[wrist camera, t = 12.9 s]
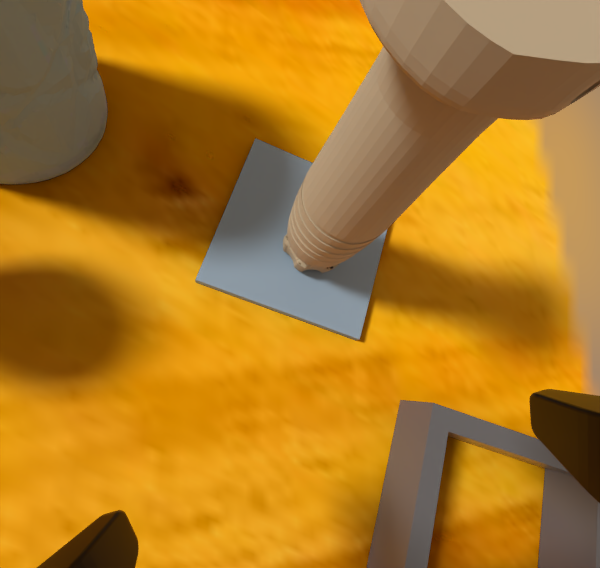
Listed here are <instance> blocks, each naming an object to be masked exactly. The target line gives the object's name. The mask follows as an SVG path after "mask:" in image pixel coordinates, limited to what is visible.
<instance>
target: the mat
mask: <svg viewBox="0 0 600 568" xmlns="http://www.w3.org/2000/svg"><path fill="white" fill-rule="evenodd" d="M312 164H313V163H311V162H309V161H307V160H304V159H302V158H300V157H298V156H295V155H293V154H291V153H288V152H286V151H284V150H281V149H279V148H277V147H274V146H272V145H270V144H268V143H265V142H263V141H261V140H258V139H256V138H255V140H254V143H253V145H252V147H251V150H250V152H249V154H248V157H247V159H246V161H245V164H244V166H243V169H242V171H241V173H240V176H239V178H238V180H237V183H236V185H235V187H234V190H233V192H232V195H231V197H230V199H229V202H228V204H227V206H226V209H225V211H224V214H223V216H222V218H221V221H220V223H219V225H218V228H217V230H216V232H215V235H214V237H213V240H212V242H211V244H210V247H209V249H208V251H207V254H206V256H205V258H204V261H203V263H202V266H201V268H200V270H199V273H198V275H197V277H196V283H199V284H202V285H204V286H207V287H210V288H213V289H215V290H218V291H221V292H224V293H226V294H229V295H232V296H235V297H237V298H240V299H243V300H246V301H249V302H251V303H254V304H257V305H260V306H262V307H265V308H268V309H271V310H273V311H276V312H279V313H282V314H284V315H287V316H290V317H293V318H295V319H298V320H301V321H304V322H306V323H309V324H312V325H315V326H318V327H320V328H323V329H326V330H329V331H331V332H334V333H337V334H340V335H342V336H345V337H348V338H351V339H353V340H359V339H360V336H361V332H362V328H363V324H364V320H365V316H366V312H367V308H368V304H369V300H370V296H371V292H372V288H373V284H374V280H375V276H376V272H377V268H378V264H379V260H380V256H381V252H382V248H383V244H384V240H385V236H386V232H387V230H386V231H385V232H384V233H382V234H381V235H380V236H379V237H378V238H376V239H375V240H374V241H373V242H371V243H370V244H369V245H368V246H366V247H365V248H364V249H362V250H361V251H359V252H358V253H356V254H355V255H354V256H352V257H351V258H349V259H347V260H346V261H344V262H342V263H340V264H339V265H338V266H337V267H335V268H334V269H332V270H330V271H328V272H324V273H322V272H320V271H318V270H305V271H302V272H300V271H298V270H297V269H295V268H294V263H293V260H292V258H291V257H290V256H289V254H287V253H286V252H284V251H283V239H284V236H285V235H287V228H288V221H289V216H290V213H291V210H292V207H293V204H294V201H295V198H296V195H297V193H298V191H299V189H300V187H301V185H302V182H303V180H304V178H305V176H306V174H307V172H308V171H309V169H310V167H311V166H312Z"/></svg>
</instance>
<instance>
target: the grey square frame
mask: <svg viewBox="0 0 600 568" xmlns="http://www.w3.org/2000/svg"><path fill="white" fill-rule="evenodd" d="M448 436H449V437H452V438H455V439H458V440H461V441H464V442H467V443H470V444H473V445H476V446H479V447H482V448H485V449H488V450H491V451H494V452H497V453H500V454H503V455H506V456H509V457H512V458H515V459H518V460H521V461H524V462H527V463H530V464H533V465H536V466H539V467H542V468H545V478H544V492H543V505H542V519H541V533H540V546H539V560H538V568H600V503H599V502H598V501H597V500H596V499H594V498H593V497H592V496H591V495H590V494H589V493H588V492H587V491H586V490H585V489H584V488H583V487H582V486H581V485H580V484H579V483H578V481H577V480H576V479H575V478H574V477H573V476H572V475H571V474H570V473H569V472H568V471H567V470H566V468H565V467H564V466H563V465H562V464H561V463H560V462H559V461H558V460H557V459H556V458H555V456H554V455H553V454H552V453H551V452H550V451H549V450H548V449H547V448H546V447H545V446H544V445H543V443H542V442H541V441H540V440H539V439H536V438H533V437H530V436H527V435H524V434H522V433H519V432H516V431H513V430H510V429H507V428H504V427H501V426H498V425H496V424H493V423H490V422H487V421H484V420H481V419H478V418H475V417H472V416H470V415H467V414H464V413H461V412H458V411H455V410H452V409H449V408H446V407H444V406H441V405H438V404H435V403H428V402H417V401H405V400H400V405H399V410H398V415H397V420H396V425H395V430H394V435H393V440H392V445H391V450H390V455H389V460H388V465H387V470H386V474H385V479H384V484H383V489H382V494H381V499H380V504H379V509H378V514H377V519H376V524H375V529H374V534H373V539H372V544H371V549H370V554H369V559H368V563H367V568H427V565H428V559H429V553H430V546H431V540H432V534H433V527H434V521H435V514H436V508H437V502H438V495H439V489H440V482H441V476H442V470H443V463H444V457H445V451H446V444H447V438H448Z"/></svg>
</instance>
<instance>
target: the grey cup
mask: <svg viewBox="0 0 600 568" xmlns="http://www.w3.org/2000/svg"><path fill="white" fill-rule="evenodd" d="M82 2H83V1H82V0H0V184H27V183H36V182H40V181H44V180H49V179H51V178H54V177H57V176H59V175H62V174H64V173H66V172H69V171H70V170H72V169H73V168H75V167H76V166H77V165H79V164H80V163H82V162H83V161H84V160H85V159H86V158H88V157H89V156H90V154H91V153H92V152H93V151H94V150H95V149H96V147H97V145H98V144H99V142H100V140H101V139H102V137H103V134H104V132H105V127H106V122H107V113H108V110H107V100H106V95H105V90H104V87H103V83H102V79H101V77H100V75H99V72H98V71H97V64H98V63H97V57H96V53H95V50H94V44H93V39H92V34H91V32H90V30H89V20H88V16H87V15H86V13H85V11H84V9H83V4H82Z"/></svg>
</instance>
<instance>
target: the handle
mask: <svg viewBox="0 0 600 568" xmlns="http://www.w3.org/2000/svg"><path fill="white" fill-rule="evenodd" d="M360 2H361V4H362V6H363V8H364V11H365V13H366V15H367V17H368V20H369V22H370V24H371V26H372V28H373V30H374V32H375V33H376V35H377V36H378V38H379V40H380V41H381V43H382V44H383V48H382V50H381V52H380V54H379V56H378V57H377V59H376V61H375V62H374V64H373V66H372V67H371V69H370V71H369V72H368V74H367V76H366V77H365V79H364V81H363V82H362V84H361V86H360V87H359V89H358V91H357V92H356V94H355V96H354V97H353V99H352V101H351V102H350V104H349V106H348V107H347V109H346V111H345V112H344V114H343V115H342V117H341V119H340V120H339V122H338V124H337V125H336V127H335V128H334V130H333V132H332V133H331V135H330V136H329V138H328V140H327V141H326V143H325V145H324V146H323V148H322V149H321V151H320V153H319V154H318V156H317V157H316V159H315V161H314V162H313V164H312V166H311V167H310V169H309V171H308V172H307V174H306V176H305V178H304V180H303V182H302V185H301V187H300V189H299V191H298V193H297V195H296V198H295V201H294V204H293V207H292V210H291V213H290V216H289V221H288V228H287V235H285V236H284V239H283V251H284V252H286V253H287V254H289V256H290V257H291V258H292V260H293V263H294V268H295V269H297V270H298V271H300V272H302V271H305V270H318V271H320V272H322V273H324V272H328V271H330V270H332V269H334V268H335V267H337V266H338V265H339V264H340V263H342V262H344V261H346V260H347V259H349V258H351V257H352V256H354V255H355V254H356V253H358V252H359V251H361V250H362V249H364V248H365V247H366V246H368V245H369V244H370V243H371V242H373V241H374V240H375V239H376V238H378V237H379V236H380V235H381V234H382V233H384V232H385V231H386V230H387V229H388V228H389V227H390V226H391V225H392V223H393V222H394V221H395V220H396V219H397V218H398V217H399V216H400V215H401V214H402V213H403V212H404V211H405V210H406V209H407V208H408V207H409V206H410V205H411V204H412V203H413V202H414V201H415V200H416V199H417V198H418V197H419V196H420V195H421V193H422V192H423V191H424V190H425V189H426V188H427V187H428V186H429V185H430V184H431V183H432V182H433V181H434V180H435V179H436V178H437V177H438V176H439V175H440V174H441V173H442V172H443V171H444V170H445V169H446V168H447V167H448V166H449V165H450V164H451V163H452V162H453V161H454V160H455V159H456V158H457V157H458V156H459V155H460V154H461V153H462V152H463V151H464V150H465V149H466V148H467V147H468V146H469V145H470V144H471V143H472V142H473V141H474V140H475V139H476V138H477V137H478V136H479V135H480V134H481V133H482V132H483V131H484V130H485V129H486V128H488V127H489V126H490V125H491V124H492V123H493V122H494V121H495V120H497V119H498V118H504V119H516V120H531V119H542V118H544V117H547V116H550V115H552V114H555V113H557V112H559V111H560V110H562V109H563V108H565V107H567V106H568V105H570V104H572V103H573V102H575V101H577V100H578V99H580V98H581V97H583V96H585V95H586V94H588V93H589V92H591V91H593V90H594V89H596V88H597V87H599V86H600V0H360Z"/></svg>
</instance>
